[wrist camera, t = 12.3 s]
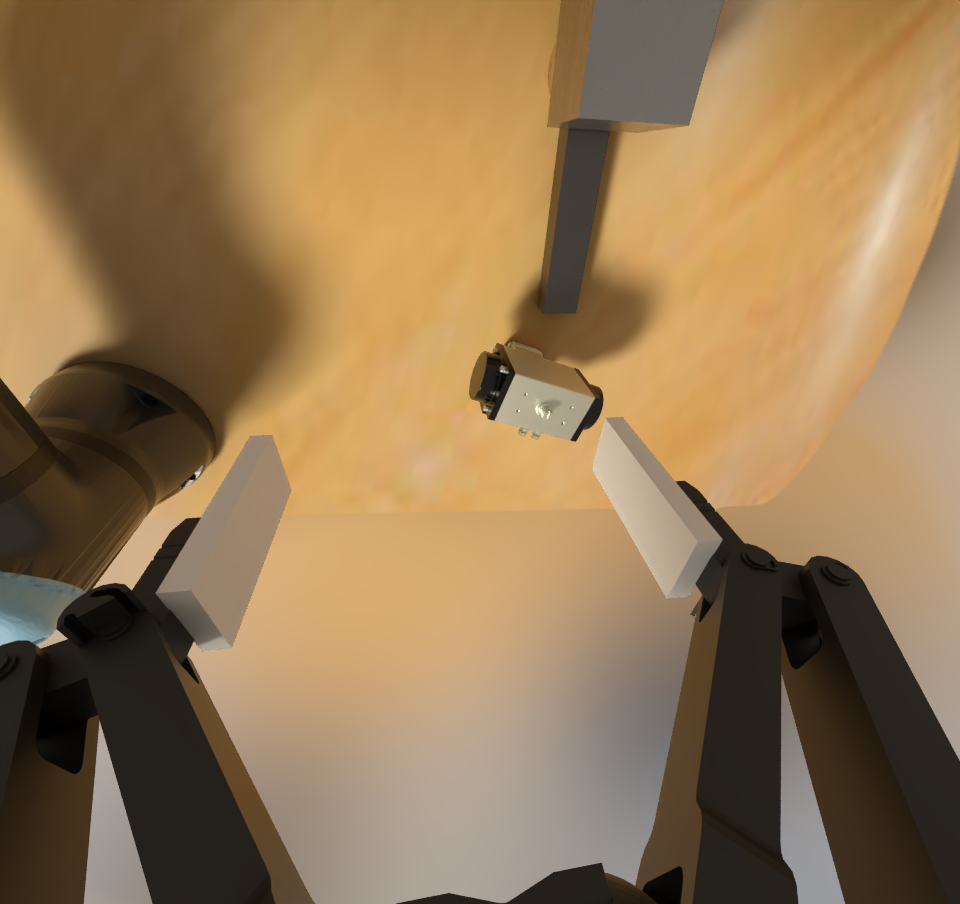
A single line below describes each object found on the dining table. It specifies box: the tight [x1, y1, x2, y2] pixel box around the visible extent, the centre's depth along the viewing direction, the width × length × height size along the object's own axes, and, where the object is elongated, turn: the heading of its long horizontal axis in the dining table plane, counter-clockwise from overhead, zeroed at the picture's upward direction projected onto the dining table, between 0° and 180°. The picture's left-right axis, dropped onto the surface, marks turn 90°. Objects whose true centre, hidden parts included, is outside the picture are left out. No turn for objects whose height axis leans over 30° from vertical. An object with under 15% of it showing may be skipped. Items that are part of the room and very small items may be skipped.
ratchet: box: [538, 43, 609, 313], centre depth 30 cm, size 6×20×7 cm, turn 178°
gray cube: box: [547, 0, 724, 133], centre depth 24 cm, size 7×7×7 cm
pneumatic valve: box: [469, 341, 603, 442], centre depth 38 cm, size 6×12×12 cm, turn 69°
